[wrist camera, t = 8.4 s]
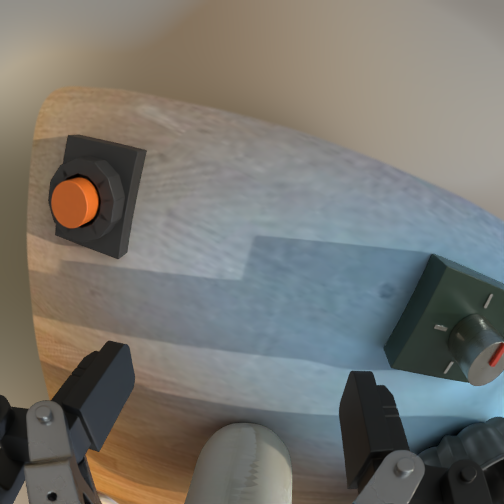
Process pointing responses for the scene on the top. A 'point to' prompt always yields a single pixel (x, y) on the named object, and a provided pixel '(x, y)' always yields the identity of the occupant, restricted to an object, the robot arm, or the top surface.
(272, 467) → the off-white tall tapered cylinder
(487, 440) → the bundt pan
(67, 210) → the button
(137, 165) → the button block
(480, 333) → the dial
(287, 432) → the top surface
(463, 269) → the panel
